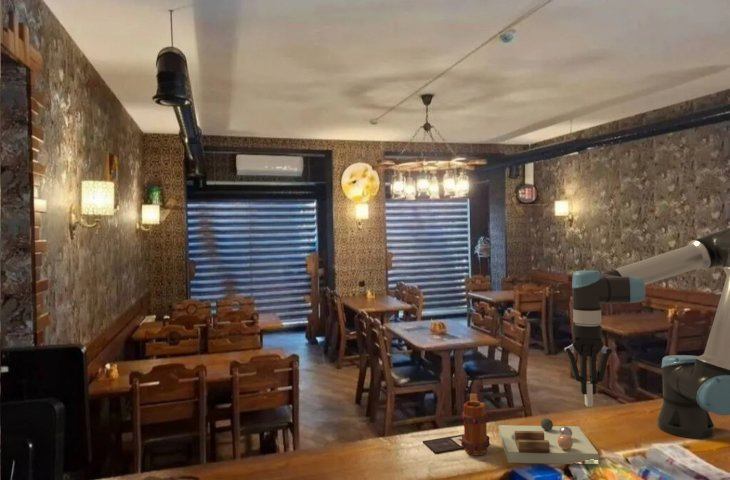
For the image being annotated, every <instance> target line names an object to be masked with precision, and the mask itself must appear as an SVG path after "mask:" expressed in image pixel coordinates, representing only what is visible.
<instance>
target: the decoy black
mask: <svg viewBox="0 0 730 480" xmlns="http://www.w3.org/2000/svg"><path fill="white" fill-rule="evenodd" d="M540 426H541V427H542V428H543V429H544V430H547V431H548V430H551V429H552V427H553V426H554V424H553V421H552V420H551V419H549V418H547V417H545V418H542V420H541V421H540Z"/></svg>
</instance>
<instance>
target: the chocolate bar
mask: <svg viewBox="0 0 730 480" xmlns="http://www.w3.org/2000/svg"><path fill="white" fill-rule="evenodd" d="M462 435H464V433H463V434H457V435H452V436H451V435H450V436H446V437H445V436H444V437H440V438H433V439H428V440H427V439H426V440H422V444H423V445H425V446H426V447H427V448H428V449H429V450H430V451H431V453H432V452H433V454H434V455H439V454H443V453H451V452H455V451H462V450H465V447H464V446H462V444H461V442H462Z"/></svg>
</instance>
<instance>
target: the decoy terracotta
mask: <svg viewBox="0 0 730 480" xmlns="http://www.w3.org/2000/svg"><path fill="white" fill-rule="evenodd" d="M558 445H559V446H560V448H562V449H564V450H569V449H570V448H571V447H572V446H573V440H572V438H571V437H570V436H568V435H566V434H563V435H560V436H559V437H558Z"/></svg>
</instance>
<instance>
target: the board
mask: <svg viewBox="0 0 730 480" xmlns="http://www.w3.org/2000/svg"><path fill="white" fill-rule="evenodd" d="M564 426H565V425H563V426H561V425H553V427H552V429H551V430H548V431H547V430H544V429H543V428H542V427H541V425H510V424H509V425H507V424H505V425H502V424H501V425H498V437H499V439H500V443H501V445H502V449H503V451H504V452H503V453H504V454H505V458H506V462H507V463H508V464H512V463H514V464H549V465H550V464H553V465H574V464H573V463H575V462H583V461H585V460H590V459H594V460H599V461H600V454H599V452H598V451H597V449H596V448H595V447H594V446H593V444H592V443H591V442H590V440H589V439H588V438H587V436H586V435H585V433H584V432H583V430H581V429H580V427H579V426H574V425H573V426H570V425H567V426H566V427H569V428H570V429H571V430H572V437H571V438H572V440H573V446H572V447H571V448H570V449H569V450H564V449H562V448H560V446H559V445H558V437H559V436H560V429H561V428H562V427H564ZM514 431H543V432H544V440H548V441H549V448H550V453H519V451H518V448H517V445H516V443H515V432H514Z"/></svg>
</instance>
